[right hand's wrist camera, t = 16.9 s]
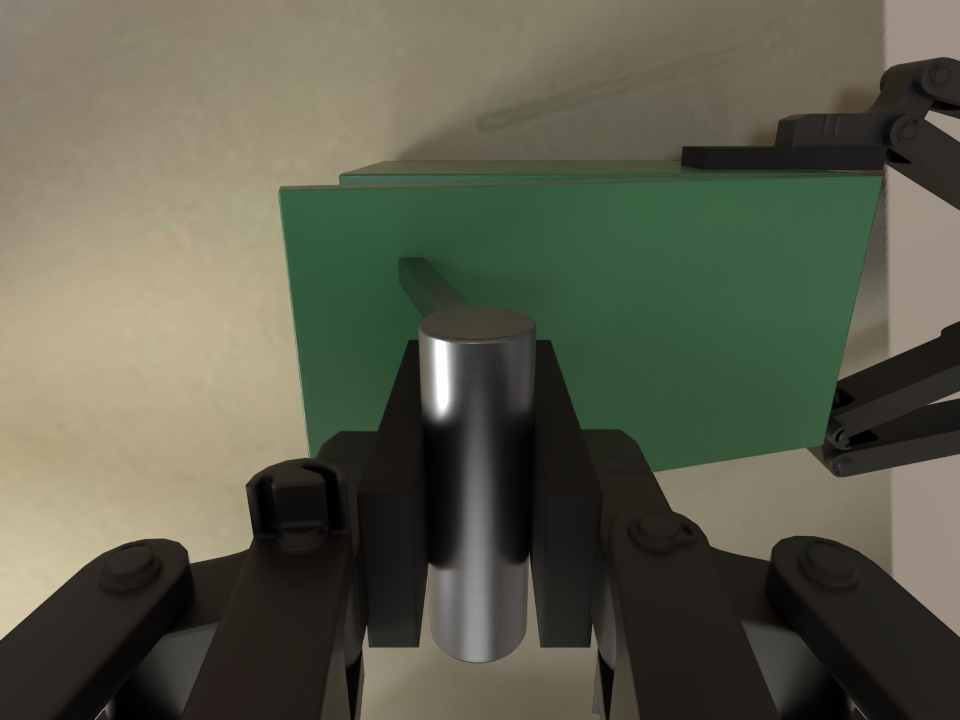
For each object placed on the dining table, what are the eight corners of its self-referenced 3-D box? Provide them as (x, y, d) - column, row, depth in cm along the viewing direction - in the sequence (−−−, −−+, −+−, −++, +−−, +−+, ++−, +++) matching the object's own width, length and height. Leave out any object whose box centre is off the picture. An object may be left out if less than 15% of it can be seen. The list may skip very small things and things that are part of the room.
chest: (393, 344, 32) (358, 431, 23) (383, 160, 29) (337, 174, 20) (707, 343, 32) (801, 429, 23) (732, 160, 29) (854, 173, 20)
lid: (315, 503, 18) (327, 768, 11) (279, 186, 15) (258, 240, 7) (798, 430, 23) (1050, 580, 15) (851, 173, 20) (1207, 198, 12)
